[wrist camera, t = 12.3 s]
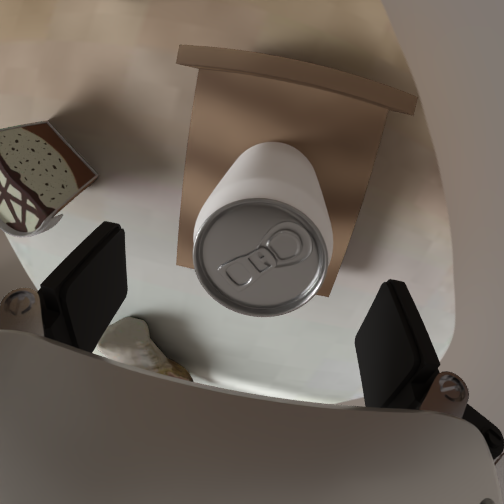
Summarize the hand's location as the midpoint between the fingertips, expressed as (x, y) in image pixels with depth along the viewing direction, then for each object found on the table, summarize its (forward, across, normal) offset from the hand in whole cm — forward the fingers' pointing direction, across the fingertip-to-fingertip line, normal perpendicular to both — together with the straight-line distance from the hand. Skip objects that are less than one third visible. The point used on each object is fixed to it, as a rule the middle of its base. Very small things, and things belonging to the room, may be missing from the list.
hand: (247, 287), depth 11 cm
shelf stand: (+18, -1, +1) cm, 18 cm away
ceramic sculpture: (+18, +11, +27) cm, 34 cm away
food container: (+19, +22, +4) cm, 29 cm away
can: (+14, 0, +1) cm, 14 cm away
